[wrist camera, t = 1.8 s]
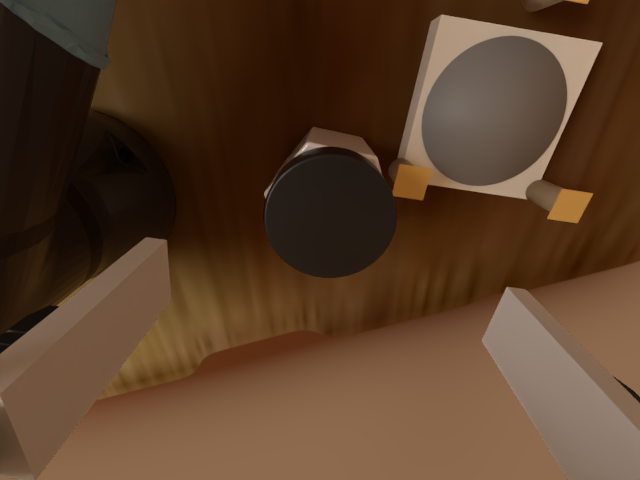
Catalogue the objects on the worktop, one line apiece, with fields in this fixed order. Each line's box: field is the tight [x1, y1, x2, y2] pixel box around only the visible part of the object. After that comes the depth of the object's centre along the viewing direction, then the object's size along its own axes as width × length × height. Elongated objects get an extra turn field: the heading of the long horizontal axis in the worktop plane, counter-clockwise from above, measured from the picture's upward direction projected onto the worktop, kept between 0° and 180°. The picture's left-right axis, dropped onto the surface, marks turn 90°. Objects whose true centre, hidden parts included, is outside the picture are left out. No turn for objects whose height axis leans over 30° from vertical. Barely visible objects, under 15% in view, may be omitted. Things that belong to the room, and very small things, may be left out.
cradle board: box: [388, 0, 603, 223], centre depth 24 cm, size 15×16×7 cm
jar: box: [263, 127, 397, 278], centre depth 24 cm, size 9×8×12 cm
